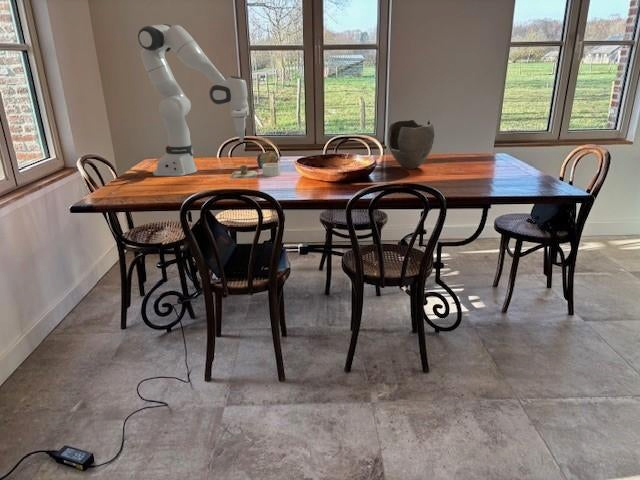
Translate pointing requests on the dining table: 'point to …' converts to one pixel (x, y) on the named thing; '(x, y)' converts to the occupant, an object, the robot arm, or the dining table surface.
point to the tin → (267, 158)
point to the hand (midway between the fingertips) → (242, 140)
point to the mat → (243, 178)
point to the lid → (244, 173)
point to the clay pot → (410, 142)
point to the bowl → (271, 169)
